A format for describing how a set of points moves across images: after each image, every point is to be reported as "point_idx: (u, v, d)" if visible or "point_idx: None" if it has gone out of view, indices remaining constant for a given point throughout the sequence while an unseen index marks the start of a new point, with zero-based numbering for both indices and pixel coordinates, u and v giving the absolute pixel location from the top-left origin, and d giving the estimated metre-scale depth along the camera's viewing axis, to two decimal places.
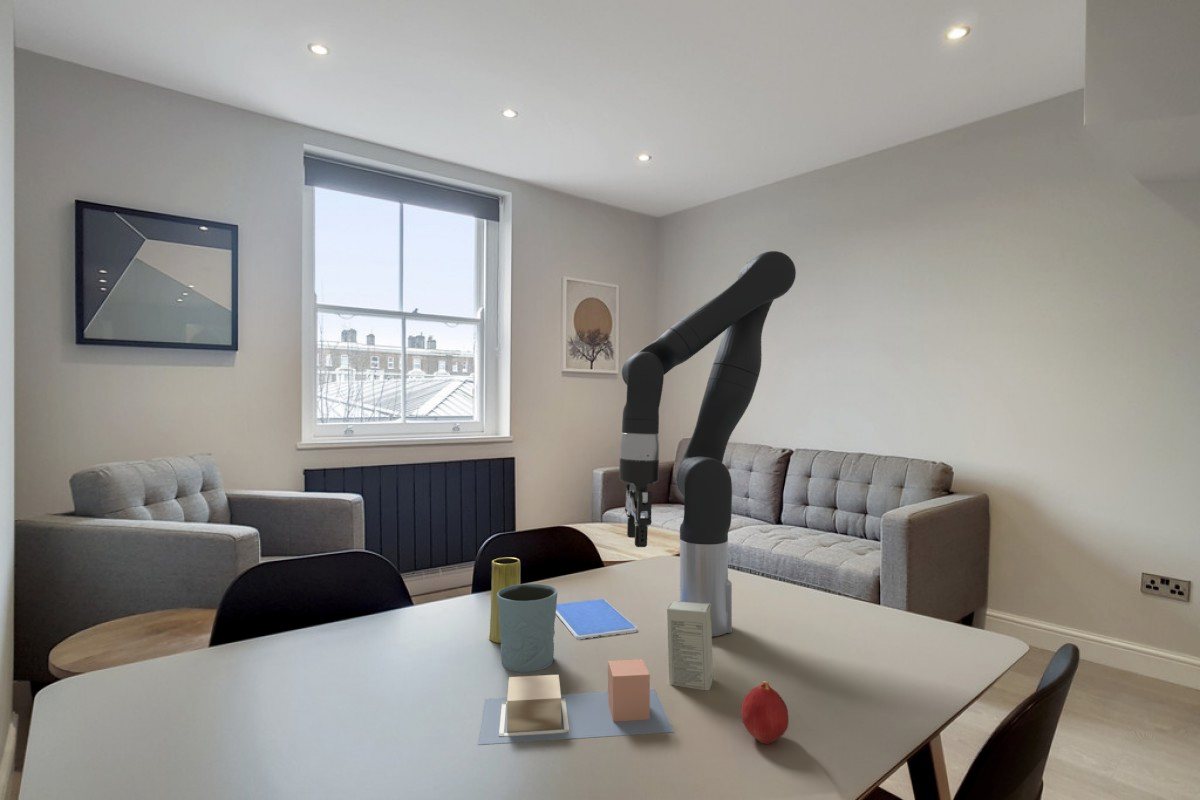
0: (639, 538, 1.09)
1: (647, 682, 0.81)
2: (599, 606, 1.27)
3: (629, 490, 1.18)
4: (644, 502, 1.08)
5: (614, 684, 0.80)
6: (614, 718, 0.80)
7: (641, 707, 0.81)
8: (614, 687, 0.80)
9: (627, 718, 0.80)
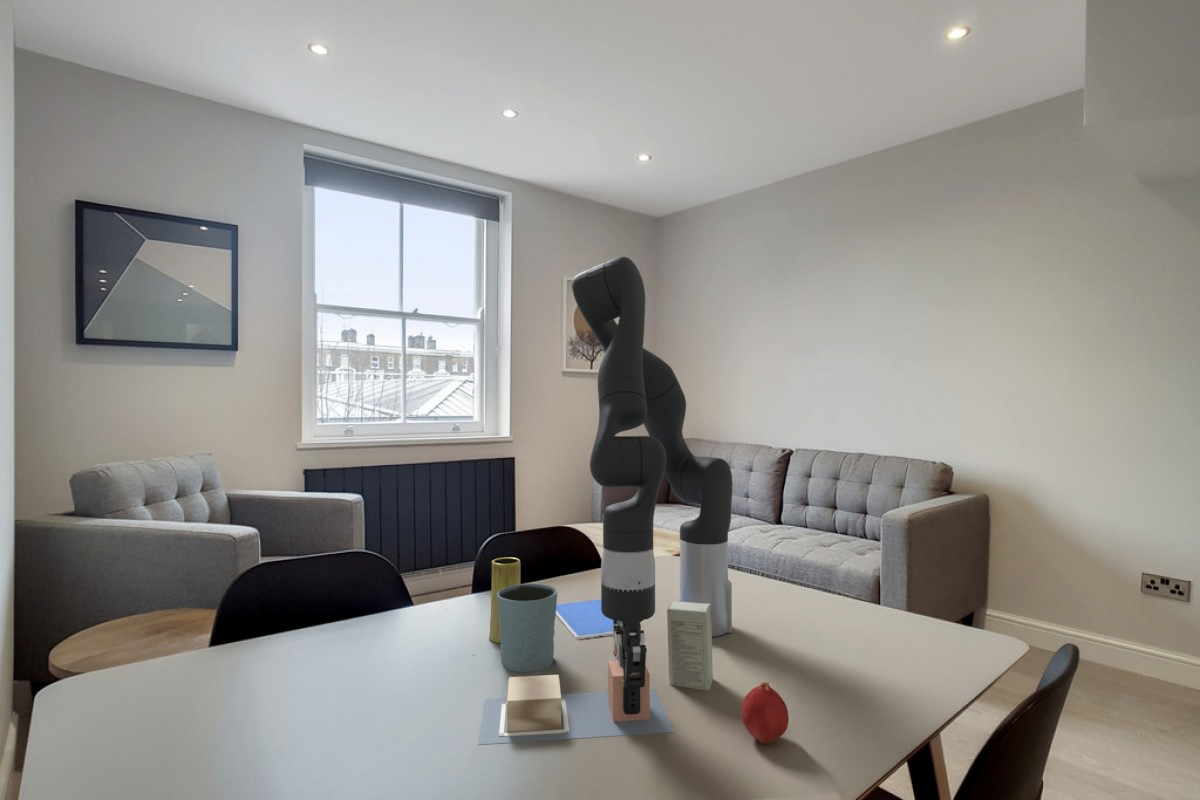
0: (629, 703, 0.79)
1: (647, 682, 0.81)
2: (599, 607, 1.27)
3: None
4: (635, 661, 0.77)
5: (614, 684, 0.80)
6: (614, 718, 0.80)
7: (641, 707, 0.81)
8: (614, 687, 0.80)
9: (627, 718, 0.80)
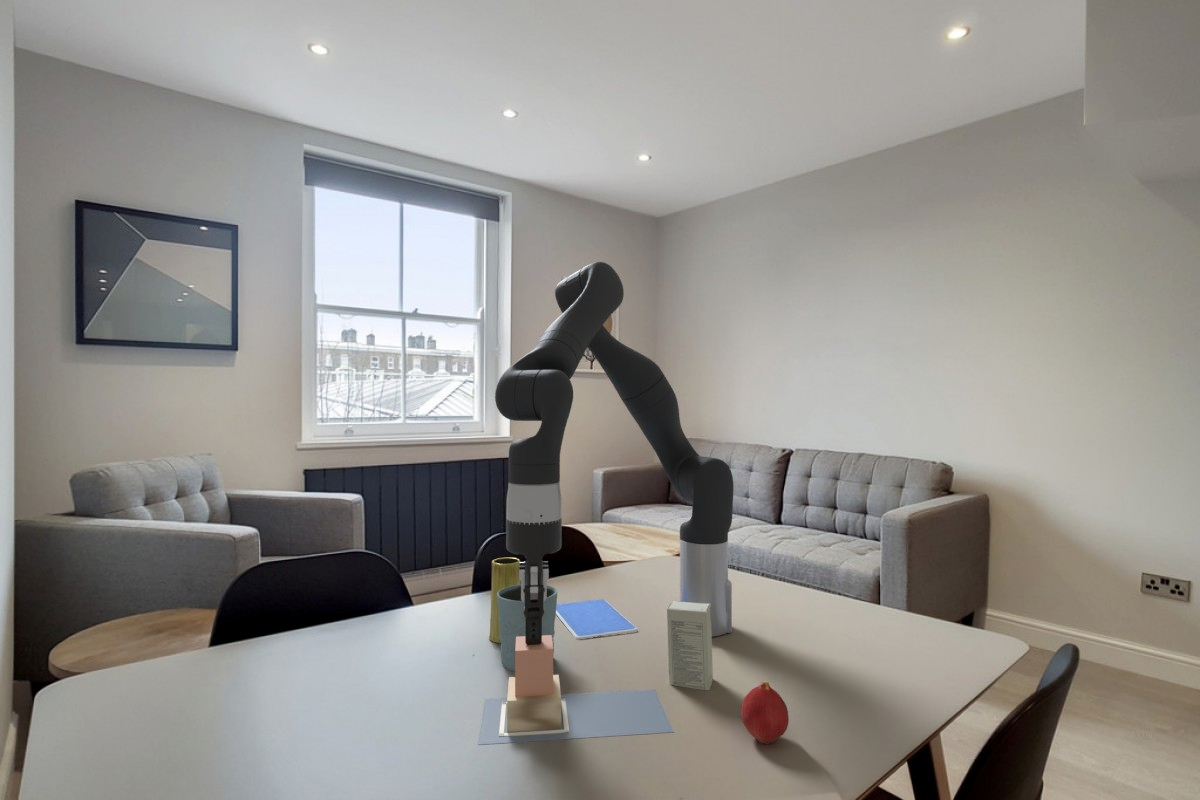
0: (530, 634, 0.80)
1: (551, 657, 0.79)
2: (599, 606, 1.27)
3: None
4: (533, 599, 0.77)
5: (516, 659, 0.79)
6: (516, 693, 0.79)
7: (544, 682, 0.79)
8: (516, 662, 0.79)
9: (529, 693, 0.79)
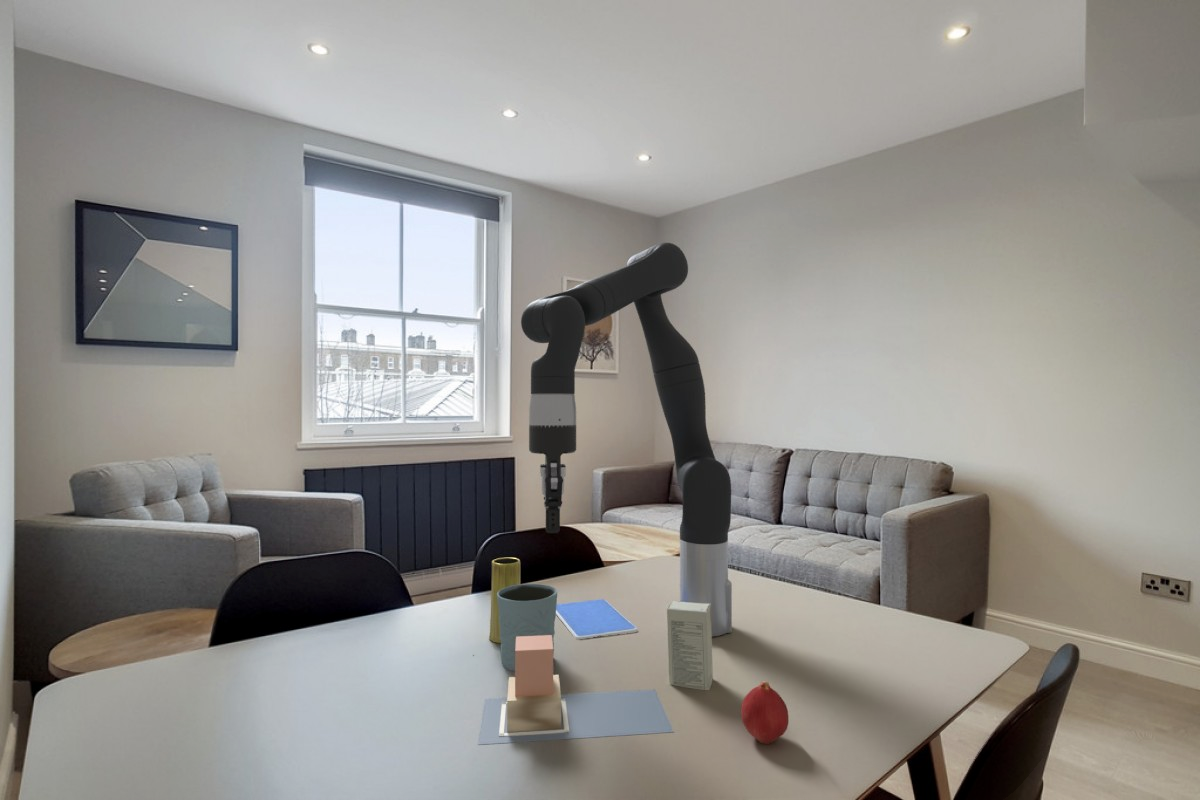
0: (549, 522, 0.94)
1: (551, 657, 0.79)
2: (599, 606, 1.27)
3: None
4: (553, 489, 0.90)
5: (516, 659, 0.79)
6: (516, 693, 0.79)
7: (544, 682, 0.79)
8: (516, 662, 0.79)
9: (529, 693, 0.79)
